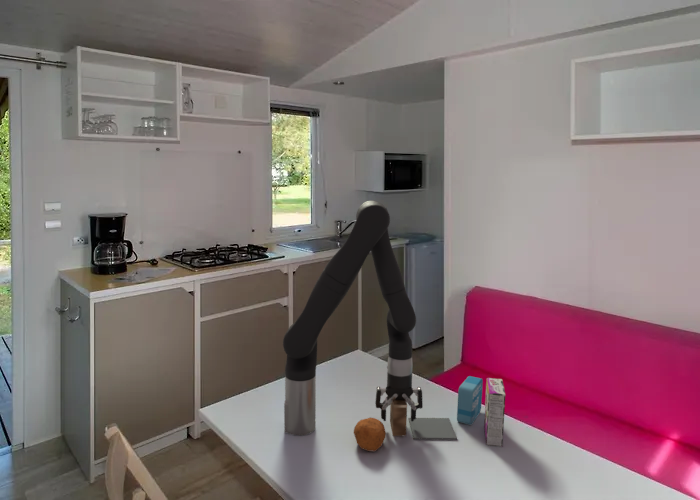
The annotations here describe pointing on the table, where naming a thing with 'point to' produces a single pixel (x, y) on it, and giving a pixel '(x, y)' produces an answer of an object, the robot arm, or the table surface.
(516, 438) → the table surface
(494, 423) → the candy bar box
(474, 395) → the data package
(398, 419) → the slab
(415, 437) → the mat
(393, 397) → the robot arm
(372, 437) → the potato
